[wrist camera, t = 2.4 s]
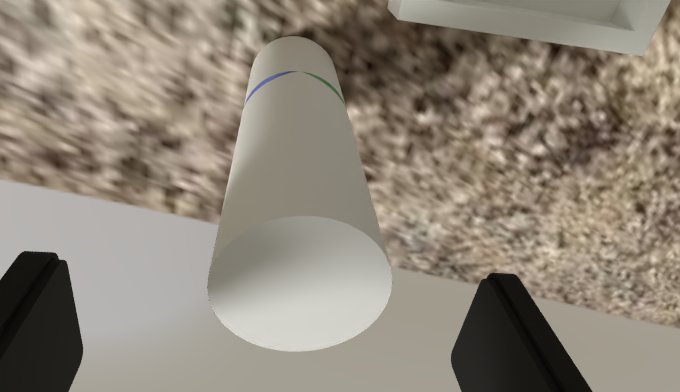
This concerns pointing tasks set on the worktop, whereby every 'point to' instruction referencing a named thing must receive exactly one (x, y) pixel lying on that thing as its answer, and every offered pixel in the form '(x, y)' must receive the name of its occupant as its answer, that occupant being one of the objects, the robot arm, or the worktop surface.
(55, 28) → the worktop surface
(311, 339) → the tube
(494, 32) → the tray
